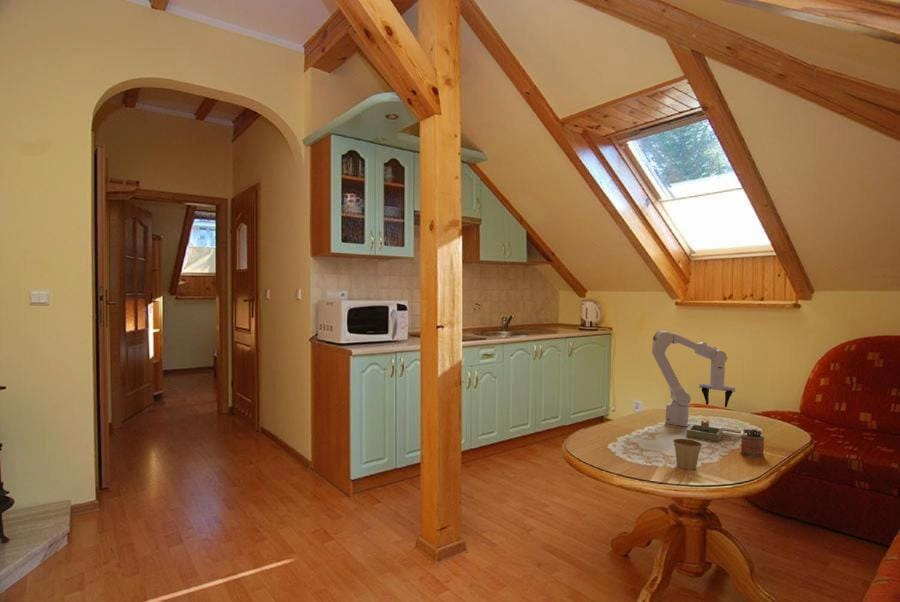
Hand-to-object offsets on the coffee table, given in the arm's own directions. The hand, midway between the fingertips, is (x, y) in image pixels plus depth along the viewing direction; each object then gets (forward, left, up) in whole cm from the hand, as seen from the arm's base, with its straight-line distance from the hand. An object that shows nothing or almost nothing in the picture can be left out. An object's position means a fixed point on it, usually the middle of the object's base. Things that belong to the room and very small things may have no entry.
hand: (716, 405), depth 234 cm
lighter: (+18, -39, -10) cm, 44 cm away
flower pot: (+1, -69, -10) cm, 70 cm away
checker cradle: (+7, -9, -10) cm, 15 cm away
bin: (-1, -22, -10) cm, 24 cm away
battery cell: (-1, -22, -9) cm, 24 cm away
